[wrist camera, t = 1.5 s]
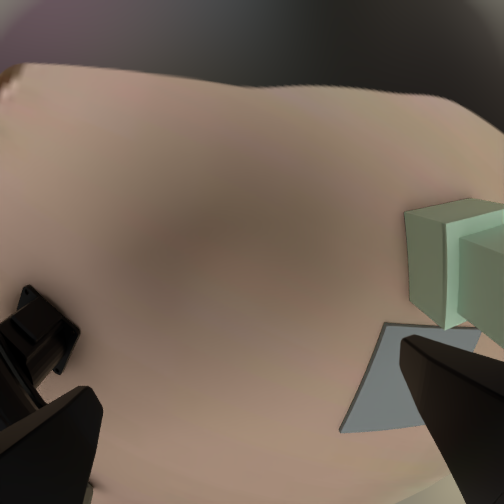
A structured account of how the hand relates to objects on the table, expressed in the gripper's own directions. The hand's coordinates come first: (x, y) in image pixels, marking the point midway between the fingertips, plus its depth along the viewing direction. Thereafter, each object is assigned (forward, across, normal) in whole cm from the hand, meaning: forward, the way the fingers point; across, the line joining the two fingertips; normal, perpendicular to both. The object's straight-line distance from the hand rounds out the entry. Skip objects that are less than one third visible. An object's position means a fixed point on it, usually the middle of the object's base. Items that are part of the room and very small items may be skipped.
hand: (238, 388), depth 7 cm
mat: (+13, -13, +15) cm, 24 cm away
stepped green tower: (+13, -15, +2) cm, 20 cm away
